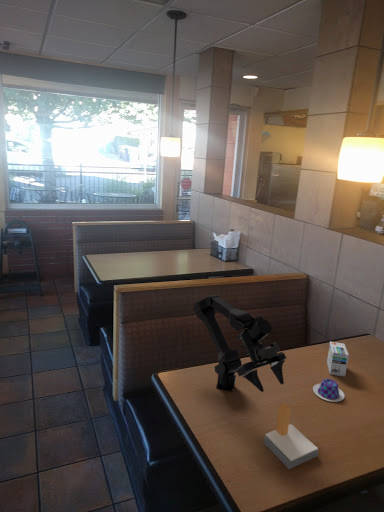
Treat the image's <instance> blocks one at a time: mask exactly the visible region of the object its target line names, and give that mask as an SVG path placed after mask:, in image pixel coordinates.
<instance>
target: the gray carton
mask: <svg viewBox="0 0 384 512" xmlns="http://www.w3.org/2000/svg"><path fill="white" fill-rule="evenodd" d="M262 441H263V444H264V445H265V446H266V447H267V448H268V449H269V451H271V453H272V454H273V455H274V456H276V458H277V459H278V460H279V461H280V462H281V463H282V464H283V465H284V466H285V467H286V469H288V470H290V469H293V468H295V467H297V466H300V465H302V464H304V463H306V462H308V461H311V460H313V459H314V458H317V457H318V455H319V449H318V450H316V451H314V452H311V453H309V454H307V455H305V456H302V457H300V458H298V459H296V460H293V461H290V460H289V459H288V458H287V457H286V456H285V455H284V454H283V453H282V452H281V451H280V450H279V449H278V448H277V447H276V446H275V445H274V443H273V442H272V441H271V440H270V439H269V438H268V437H267V436H266V435H265V436H263V440H262Z"/></svg>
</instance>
